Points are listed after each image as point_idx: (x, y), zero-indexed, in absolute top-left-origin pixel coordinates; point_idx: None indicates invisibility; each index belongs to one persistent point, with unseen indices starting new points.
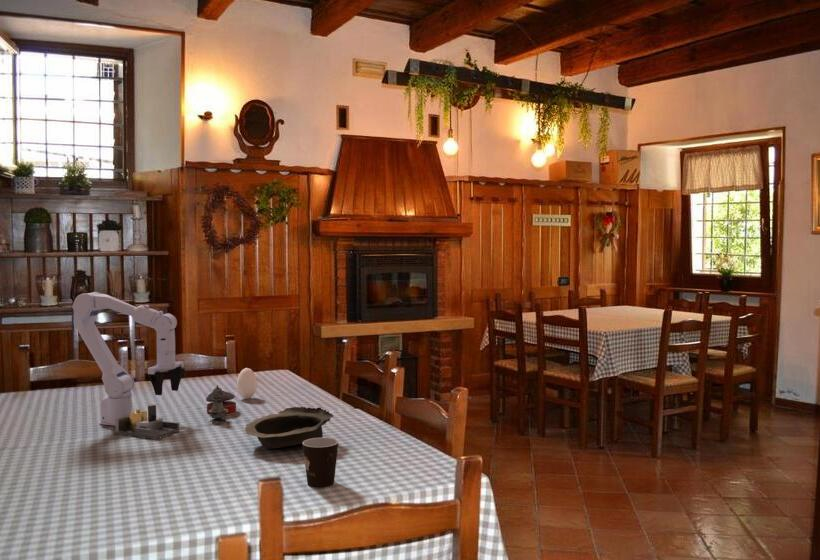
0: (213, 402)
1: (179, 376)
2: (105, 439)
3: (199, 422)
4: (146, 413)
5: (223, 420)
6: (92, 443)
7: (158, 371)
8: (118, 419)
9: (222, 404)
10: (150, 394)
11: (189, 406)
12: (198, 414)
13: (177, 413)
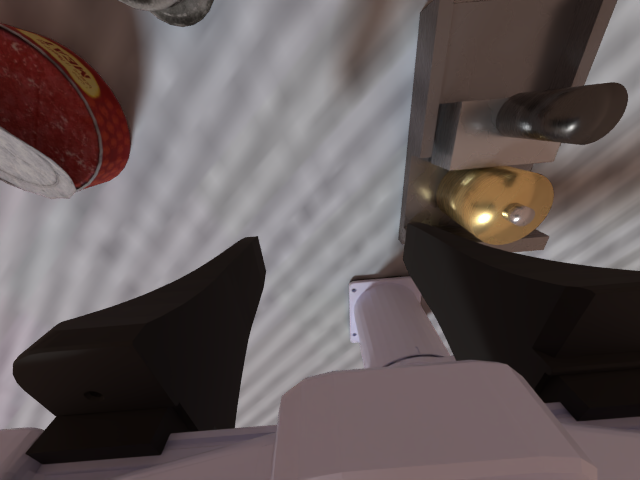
0: None
1: (200, 287)
2: (570, 202)
3: (250, 58)
4: (502, 175)
5: None
6: (620, 199)
7: (591, 418)
8: (543, 240)
9: (8, 116)
10: None
11: (124, 294)
12: (164, 183)
13: (209, 259)
